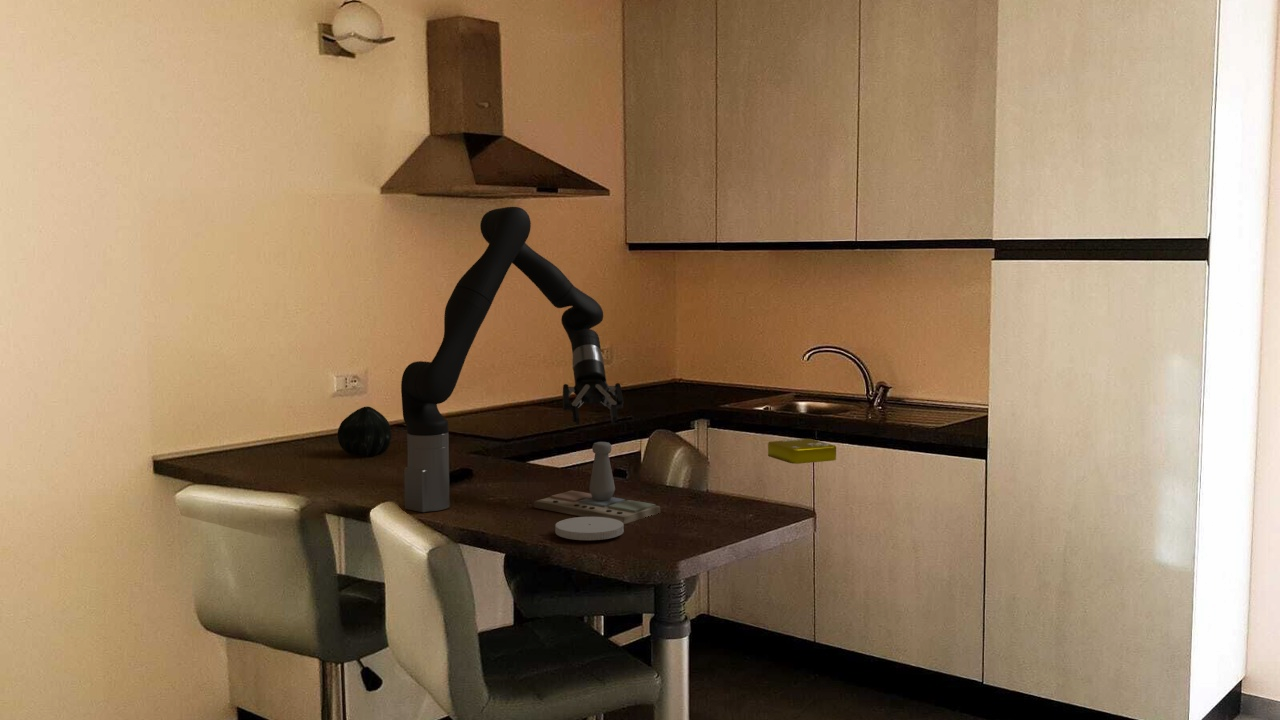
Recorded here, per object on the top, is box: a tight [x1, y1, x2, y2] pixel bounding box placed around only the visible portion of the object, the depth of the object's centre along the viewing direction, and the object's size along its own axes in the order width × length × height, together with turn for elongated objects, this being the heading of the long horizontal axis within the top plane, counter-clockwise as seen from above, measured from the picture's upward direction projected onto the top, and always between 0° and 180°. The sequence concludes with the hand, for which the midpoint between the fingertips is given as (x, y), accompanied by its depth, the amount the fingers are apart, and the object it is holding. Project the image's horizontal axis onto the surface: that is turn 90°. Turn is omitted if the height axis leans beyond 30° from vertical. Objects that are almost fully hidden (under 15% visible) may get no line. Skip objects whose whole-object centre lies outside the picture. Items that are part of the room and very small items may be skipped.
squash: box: [337, 406, 392, 457], centre depth 326 cm, size 14×15×15 cm
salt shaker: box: [588, 441, 616, 501], centre depth 257 cm, size 6×6×13 cm
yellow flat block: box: [767, 438, 837, 465], centre depth 321 cm, size 15×15×5 cm
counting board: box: [533, 490, 661, 525], centre depth 256 cm, size 13×26×2 cm, turn 53°
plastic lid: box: [554, 516, 625, 541], centre depth 233 cm, size 14×14×2 cm
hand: (595, 421), depth 265 cm, fingers open, 8 cm apart
